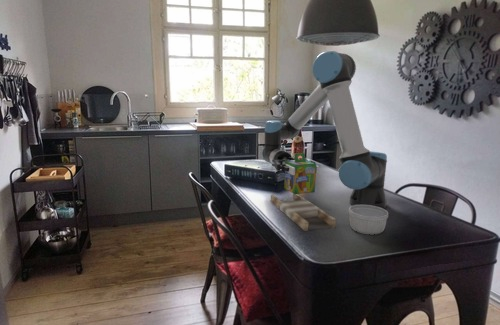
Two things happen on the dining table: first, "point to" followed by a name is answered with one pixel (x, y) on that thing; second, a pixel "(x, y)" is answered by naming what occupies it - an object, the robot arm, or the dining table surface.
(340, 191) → the dining table surface
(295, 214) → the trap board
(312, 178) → the chalk box
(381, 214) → the ramekin
